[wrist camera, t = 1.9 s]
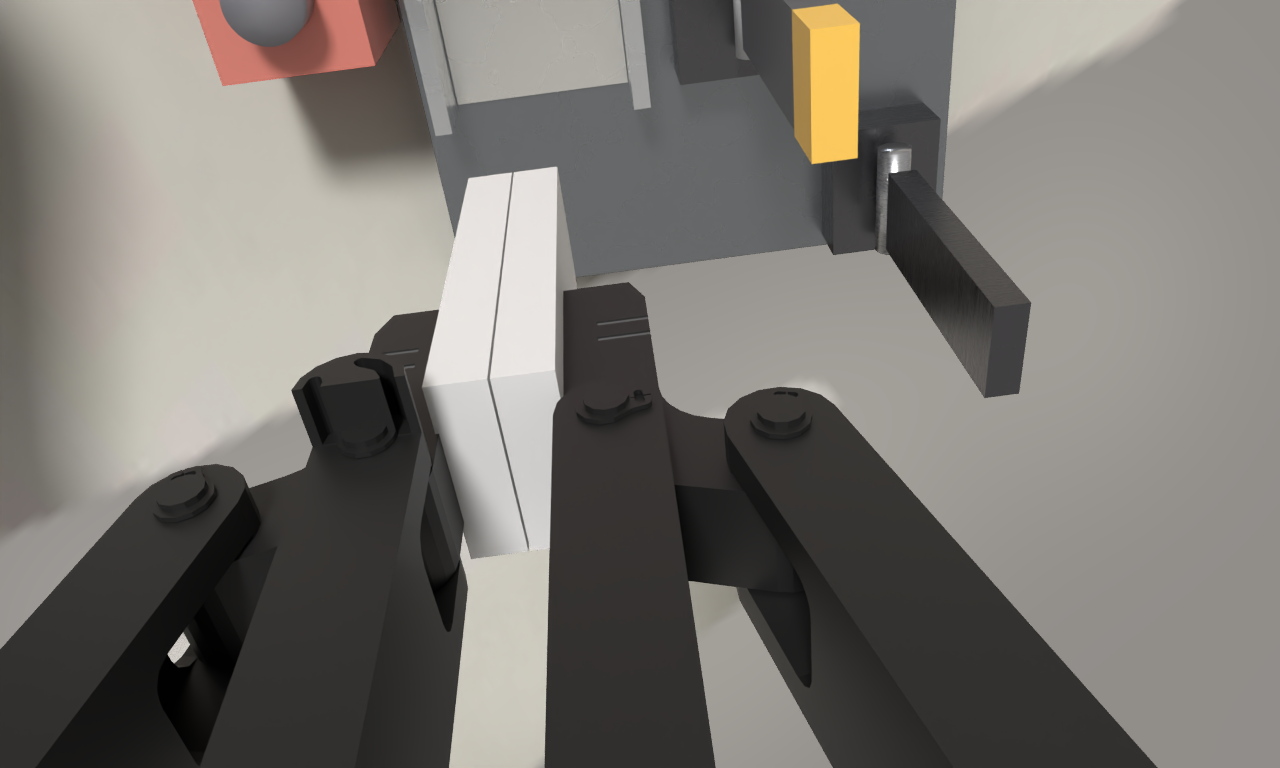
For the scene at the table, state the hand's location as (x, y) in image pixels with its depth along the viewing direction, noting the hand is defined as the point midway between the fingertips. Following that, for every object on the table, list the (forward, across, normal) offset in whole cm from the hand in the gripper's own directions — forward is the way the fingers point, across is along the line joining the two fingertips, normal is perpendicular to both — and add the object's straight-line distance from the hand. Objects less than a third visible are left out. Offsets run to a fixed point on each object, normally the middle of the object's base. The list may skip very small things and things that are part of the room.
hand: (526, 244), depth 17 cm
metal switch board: (+22, +5, -2) cm, 23 cm away
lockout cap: (+22, -8, +2) cm, 24 cm away
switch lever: (+17, +7, 0) cm, 19 cm away
